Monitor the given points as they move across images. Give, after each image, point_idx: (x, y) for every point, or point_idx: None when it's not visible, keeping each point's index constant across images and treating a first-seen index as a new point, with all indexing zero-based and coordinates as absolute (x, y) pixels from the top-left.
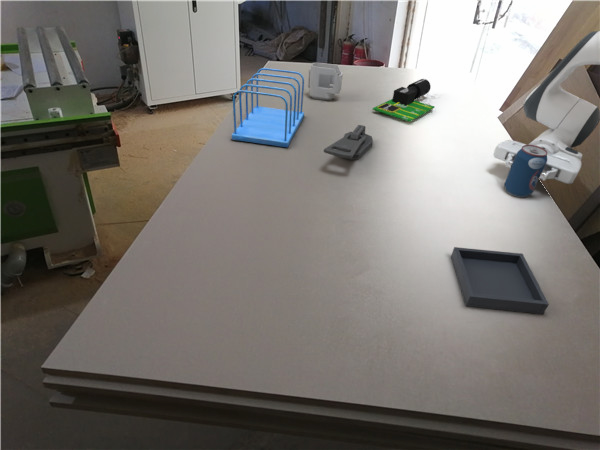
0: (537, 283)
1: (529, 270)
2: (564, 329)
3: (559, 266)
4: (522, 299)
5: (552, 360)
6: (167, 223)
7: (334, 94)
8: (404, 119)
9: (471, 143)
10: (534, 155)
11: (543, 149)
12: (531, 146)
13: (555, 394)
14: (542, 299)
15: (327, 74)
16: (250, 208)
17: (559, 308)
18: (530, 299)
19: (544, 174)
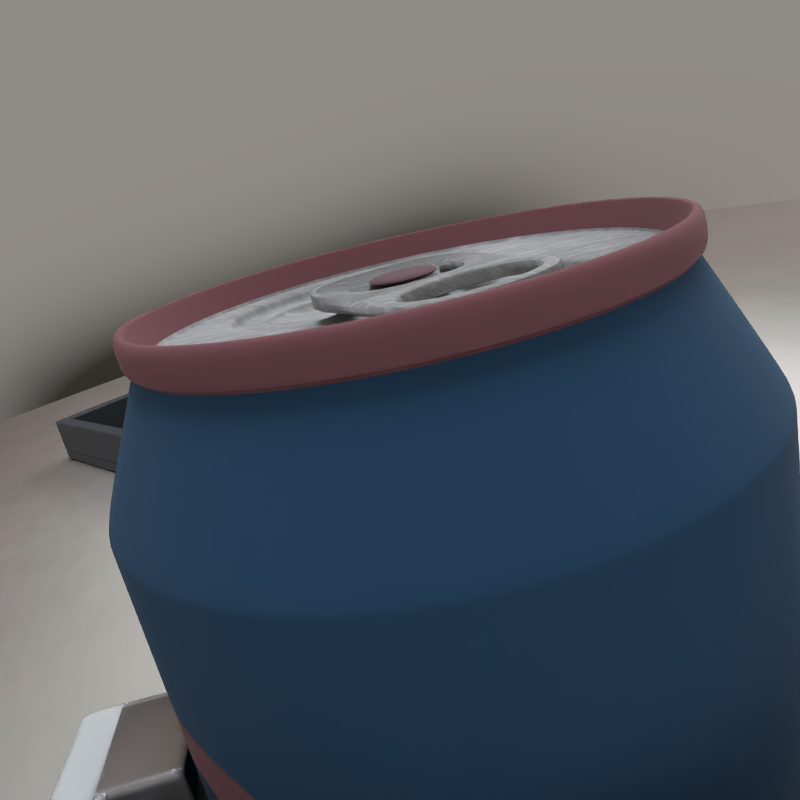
0: (89, 427)
1: (118, 431)
2: (15, 469)
3: (5, 575)
4: (121, 397)
5: (47, 432)
6: (732, 210)
7: None
8: None
9: None
10: (312, 276)
11: (268, 356)
12: (637, 284)
13: (44, 416)
14: (72, 419)
15: None
16: (761, 233)
17: (23, 487)
18: (102, 405)
19: (140, 703)
